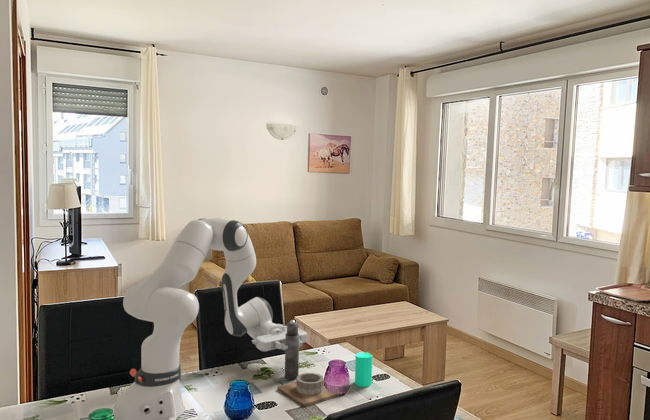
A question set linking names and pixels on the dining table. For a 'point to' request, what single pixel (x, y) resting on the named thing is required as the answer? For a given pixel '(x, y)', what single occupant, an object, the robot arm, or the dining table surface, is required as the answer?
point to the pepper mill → (292, 351)
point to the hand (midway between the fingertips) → (293, 345)
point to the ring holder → (307, 390)
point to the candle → (363, 369)
